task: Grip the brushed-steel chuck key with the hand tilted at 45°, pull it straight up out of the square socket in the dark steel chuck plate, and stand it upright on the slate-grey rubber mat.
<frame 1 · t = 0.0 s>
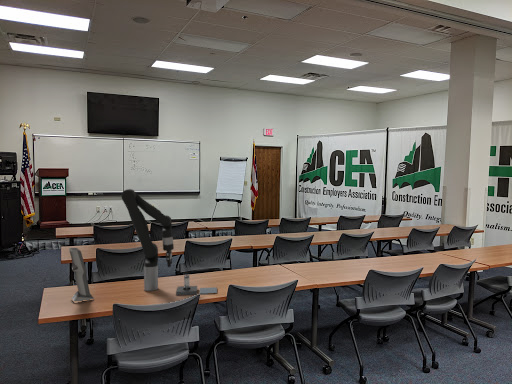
hand: (169, 265, 275), 17 cm above the table, tool pointing down, fingers open, 8 cm apart
rubber mat: (208, 291, 269), on the table
chuck plate: (186, 292, 267), on the table
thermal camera: (83, 299, 252), on the table
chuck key: (186, 283, 267), in the chuck plate
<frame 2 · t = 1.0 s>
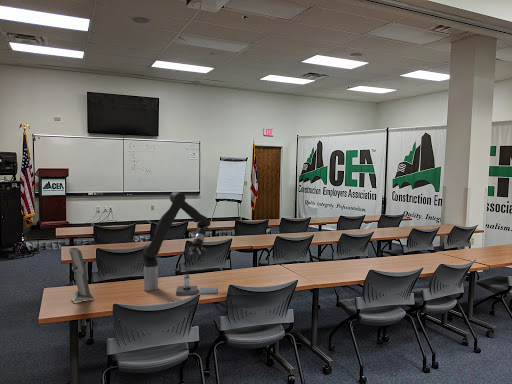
hand: (193, 259, 277), 21 cm above the table, tool tilted 45°, fingers open, 8 cm apart
nothing on the table moved.
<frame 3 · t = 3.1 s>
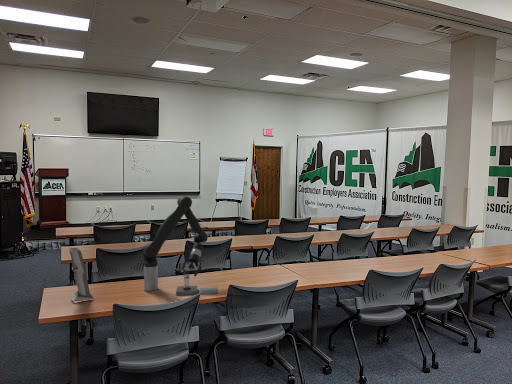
hand: (189, 275, 271), 11 cm above the table, tool tilted 45°, fingers open, 8 cm apart
nothing on the table moved.
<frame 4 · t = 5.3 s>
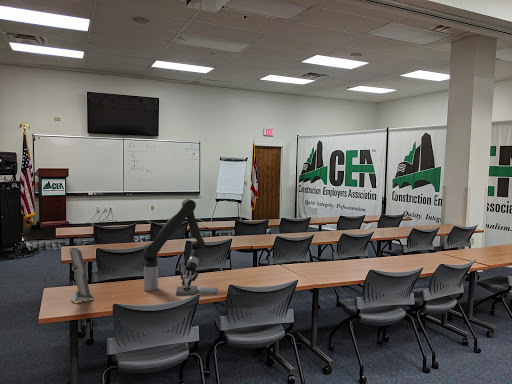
hand: (185, 285, 265), 6 cm above the table, tool tilted 45°, fingers closed on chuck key, 3 cm apart
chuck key: (186, 283, 267), in the chuck plate, touching gripper
everything else where it was.
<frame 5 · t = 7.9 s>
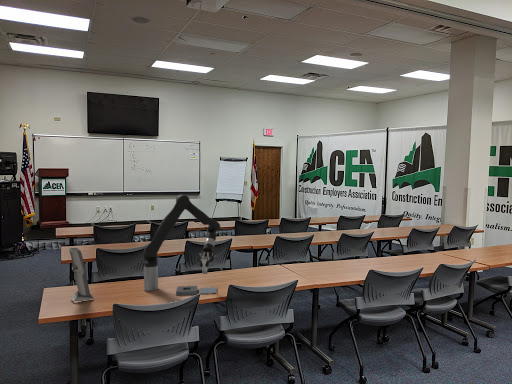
hand: (203, 266, 266), 19 cm above the table, tool tilted 45°, fingers closed on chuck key, 3 cm apart
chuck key: (204, 264, 268), point 19 cm above the table, touching gripper
everything else where it was.
when the fingers open (8 cm above the table, at t = 10.8 s): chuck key drops 1 cm, resting on rubber mat.
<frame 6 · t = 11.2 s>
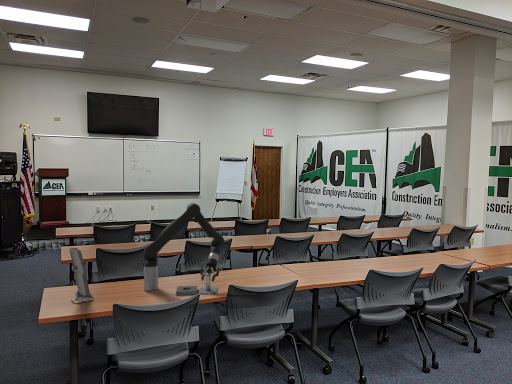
hand: (207, 280, 267), 8 cm above the table, tool tilted 45°, fingers open, 7 cm apart
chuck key: (208, 281, 269), on the rubber mat, point 7 cm above the table
everything else where it was.
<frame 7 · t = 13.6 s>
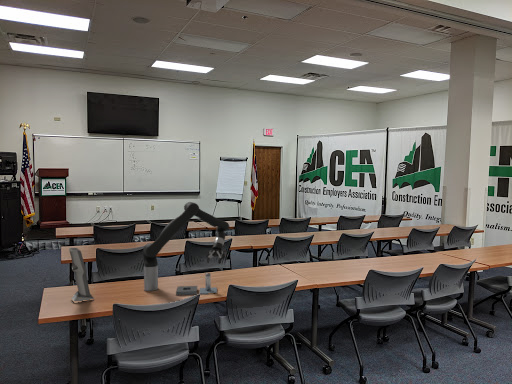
hand: (213, 263, 279), 18 cm above the table, tool tilted 45°, fingers open, 8 cm apart
nothing on the table moved.
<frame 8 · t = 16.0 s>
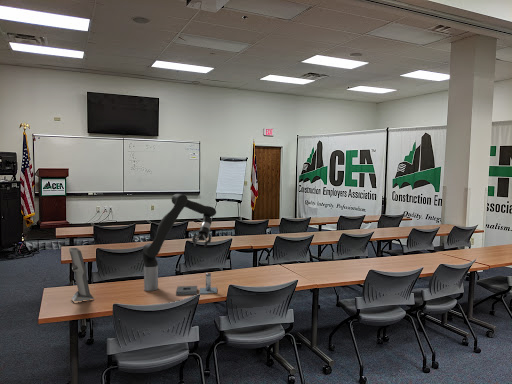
hand: (199, 246, 285), 29 cm above the table, tool tilted 45°, fingers open, 8 cm apart
nothing on the table moved.
at the end: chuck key inside the target area on the rubber mat (0.1 cm from its centre), point 6.8 cm above the rubber mat's base; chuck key tilted 1°; the gripper is holding nothing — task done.
